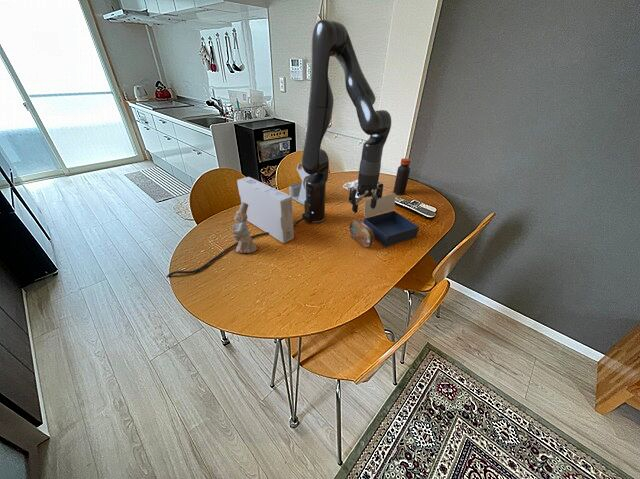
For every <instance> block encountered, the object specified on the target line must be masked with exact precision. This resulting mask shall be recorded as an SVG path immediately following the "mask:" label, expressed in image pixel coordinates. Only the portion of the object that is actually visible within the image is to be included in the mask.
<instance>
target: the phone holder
mask: <svg viewBox="0 0 640 479" xmlns="http://www.w3.org/2000/svg"><path fill="white" fill-rule="evenodd" d="M296 171H297V173H298V176H299V177H300V179H301V182H296V183H293V184H290V185H289V186H288V187H289V191H288V192H289V195H290V196H291V197H292V200H294V201H296V202H297V203H299V204H301V205H302V206H304V201H305V200H306V179H307V178H308V177H309V175H310V174H307V173H306V172H305V171H304V169H303V167H302V162H299V163H298V164H297V167H296Z"/></svg>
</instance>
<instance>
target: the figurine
mask: <svg viewBox="0 0 640 479" xmlns="http://www.w3.org/2000/svg"><path fill="white" fill-rule="evenodd" d="M247 209H248V204H247V203H244V202H242V203H241V202H240V205H239V208H238V210H236V212H235V215H233V216H234V219H233V220H234V222H233V224H232V228H231V229H232V230H231V234H233V236H232V239H234V241H235V243H237V242H239V243H238V244H237V245H236V246H235V247H236V248H235V252H237V253H240V254H246V253H247V254H251V253H253V252H255V251H257V249H258V248H257V245H256V244H255V242H254V240H253V238H250V234H251V231H250V230H249V229H248V228H249V227H248V223H247V218H248V216H247V215H246V213H247Z"/></svg>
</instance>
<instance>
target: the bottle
mask: <svg viewBox="0 0 640 479" xmlns="http://www.w3.org/2000/svg"><path fill="white" fill-rule="evenodd" d="M410 164H411V159H410V158H406V157H403V158H401V160H400V165H399V166H398V167H397V169H396V176H395V181H394V186H393V193H395V195H398V196H403V195H405V194H406V190H407V186H408V181H409V177H410V172H411V168H410Z"/></svg>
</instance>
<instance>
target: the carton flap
mask: <svg viewBox="0 0 640 479" xmlns="http://www.w3.org/2000/svg"><path fill="white" fill-rule="evenodd" d="M371 199H373V198H372V197H370V198H367V199H364V202H363V205H364V206H363V208H364V209H363V217H364V218H368V217H372V216H376V215H379V214H383V213H387V212H391V211H395V205H396V194H395V193H394V192H393V193H388V194H384V195H382V198H379V199H378V200H377V203H376V207H375V208H374V209H372V208H371V207H370V205H371Z"/></svg>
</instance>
